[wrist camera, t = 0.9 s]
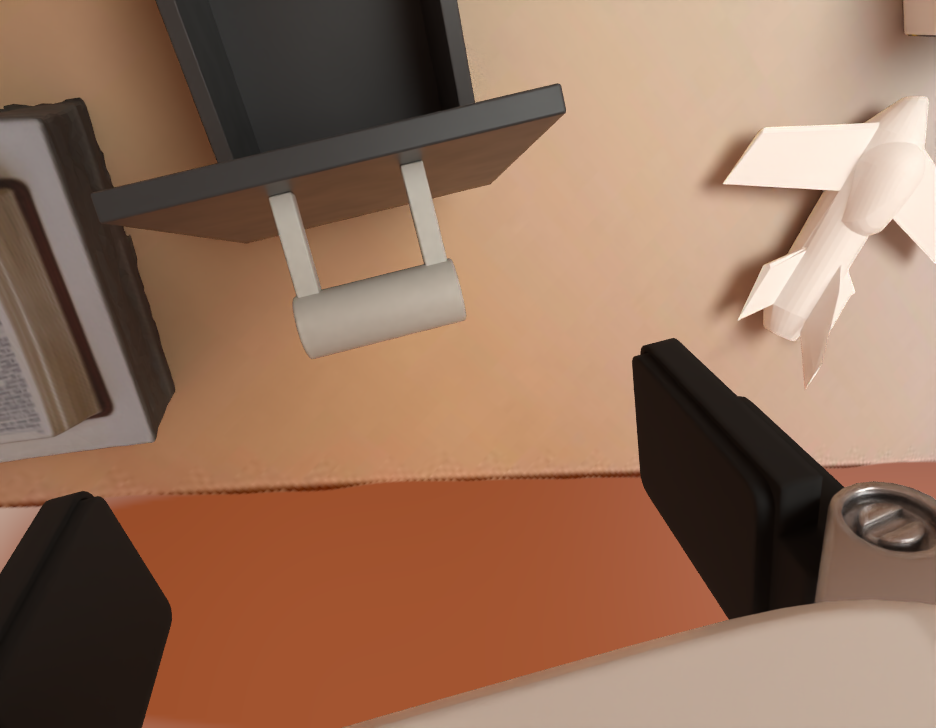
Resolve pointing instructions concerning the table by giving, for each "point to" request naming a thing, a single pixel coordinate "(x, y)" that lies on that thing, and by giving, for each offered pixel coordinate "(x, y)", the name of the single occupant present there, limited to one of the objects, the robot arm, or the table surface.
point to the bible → (69, 297)
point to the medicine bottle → (919, 17)
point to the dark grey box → (314, 66)
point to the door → (349, 208)
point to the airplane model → (838, 212)
